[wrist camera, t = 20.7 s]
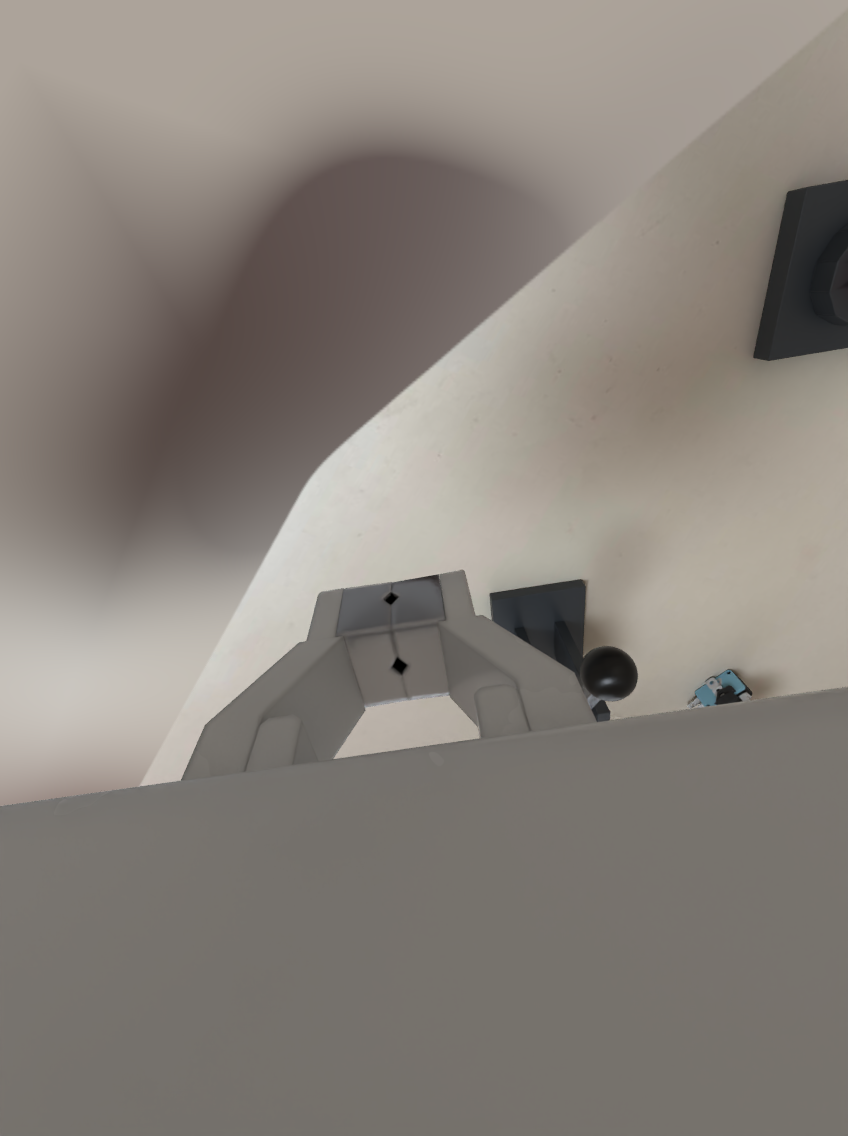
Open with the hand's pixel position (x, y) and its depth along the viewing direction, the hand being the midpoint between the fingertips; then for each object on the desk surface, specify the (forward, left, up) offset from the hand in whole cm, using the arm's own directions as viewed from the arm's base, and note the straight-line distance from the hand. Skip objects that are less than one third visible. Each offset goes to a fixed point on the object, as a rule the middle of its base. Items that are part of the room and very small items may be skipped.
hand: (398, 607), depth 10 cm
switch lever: (+20, +10, -16) cm, 28 cm away
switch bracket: (+27, +10, -29) cm, 41 cm away
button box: (-2, +32, -29) cm, 43 cm away
